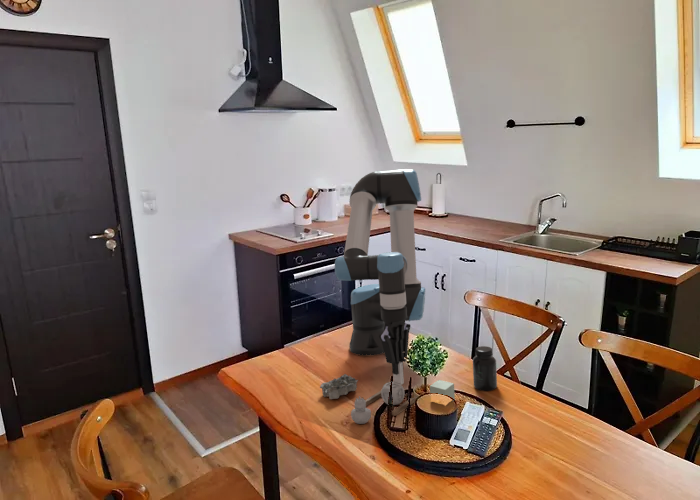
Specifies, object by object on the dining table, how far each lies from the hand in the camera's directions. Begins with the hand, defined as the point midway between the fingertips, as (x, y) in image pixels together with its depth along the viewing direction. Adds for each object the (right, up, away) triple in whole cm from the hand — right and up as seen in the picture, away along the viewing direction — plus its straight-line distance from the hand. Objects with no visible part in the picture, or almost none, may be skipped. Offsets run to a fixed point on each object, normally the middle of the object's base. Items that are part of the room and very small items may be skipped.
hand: (398, 383), depth 148 cm
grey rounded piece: (-11, -7, -12) cm, 18 cm away
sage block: (+12, -4, -4) cm, 14 cm away
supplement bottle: (+27, -2, +3) cm, 27 cm away
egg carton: (-15, -6, +5) cm, 17 cm away
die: (-2, -5, -2) cm, 6 cm away
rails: (-3, -5, -3) cm, 7 cm away
